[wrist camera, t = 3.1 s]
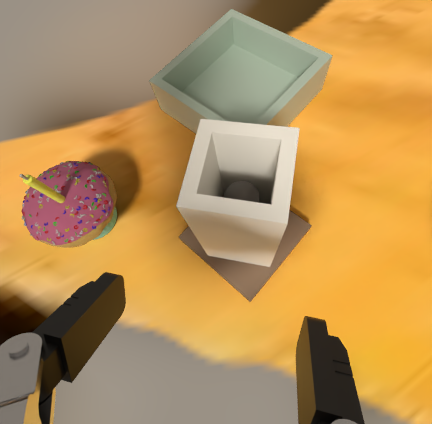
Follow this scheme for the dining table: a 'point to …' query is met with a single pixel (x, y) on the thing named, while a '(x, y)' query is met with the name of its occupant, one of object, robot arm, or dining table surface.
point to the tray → (241, 75)
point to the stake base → (240, 271)
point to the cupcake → (69, 204)
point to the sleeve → (232, 172)
